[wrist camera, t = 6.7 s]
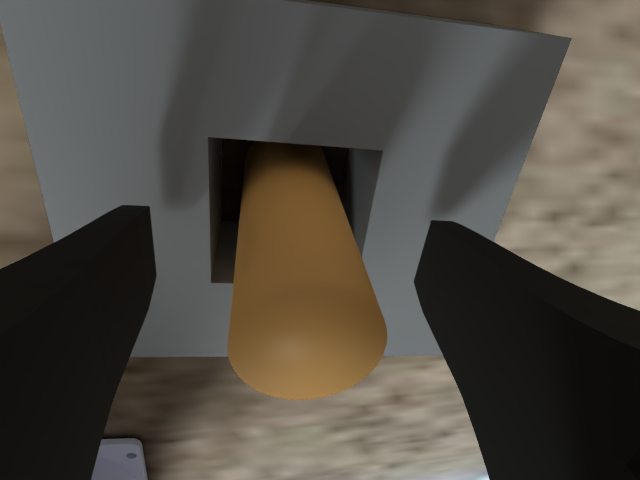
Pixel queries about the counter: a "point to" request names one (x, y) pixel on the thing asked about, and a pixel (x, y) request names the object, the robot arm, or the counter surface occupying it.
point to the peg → (299, 281)
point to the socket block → (273, 132)
